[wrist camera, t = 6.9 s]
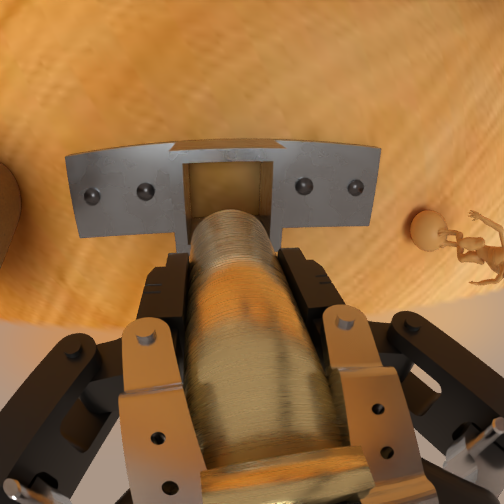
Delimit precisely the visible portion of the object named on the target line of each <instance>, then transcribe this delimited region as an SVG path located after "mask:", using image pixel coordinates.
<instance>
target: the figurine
mask: <svg viewBox="0 0 504 504" xmlns="http://www.w3.org/2000/svg"><path fill="white" fill-rule="evenodd" d="M470 211H472V210H470ZM472 212H473V213H471V212H468V213H469V214H472V215H470V216H468V217H474V218H475V219H474V220H472V221H475V220H477V219H480V220H481V221H483V222H484V223H485V224H487V225H488V226H491V227H492V228H494V229H495V230H497V231H498V232H499V236H500V240H501V244H502V247H491V246H486V245H485V240H484V239H483V238H481V237H478V238H475V237H473V238H472V237H467V238H463V234H462V233H461V232H458V231H456V230H448V227H447V224H446V221H445V220H444V218H443V217H442V216H441V215H440V214H439V213H437V212H435V211H432V210H426V211H422V212H420V213H419V214H417V215H416V216H415V218H414V219H413V221H412V223H411V228H410V233H411V238H412V240H413V242H414V243H415V245H416V246H417V247H418V248H420V249H421V250H424V251H435V250H438V249H439V248H444V247H445V246H452V247H457V257H458V260H459V261H460V262H462V263H463V262H474V263H477V264H481V265H482V264H484V261H486V262H487V264H488V265H489V266H490V268H491V269H492V270H493V271H494V272H496V273H497V274H498V275H497V276H496V278H495V279H488V280H483V281H480V282H472V281H471V282H469V283H471V284H475V285H487V284H496V283H499V282H500V281H501V280H502V279H503V278H504V229H503V227H502V226H501V225H499V224H497V223H495V222H493V221H491V220H490V219H488V218H486V217H484V216H482V215H481V214H479V213H478V212H475V211H472ZM447 235H456V239H457V242H452V241H447V240H446V239H447ZM462 238H463V239H462ZM464 248H466V249H467V250H469V251H468V252H467V253H465V254H462V253H463V252H464ZM474 250H476V252H475V251H474Z"/></svg>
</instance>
